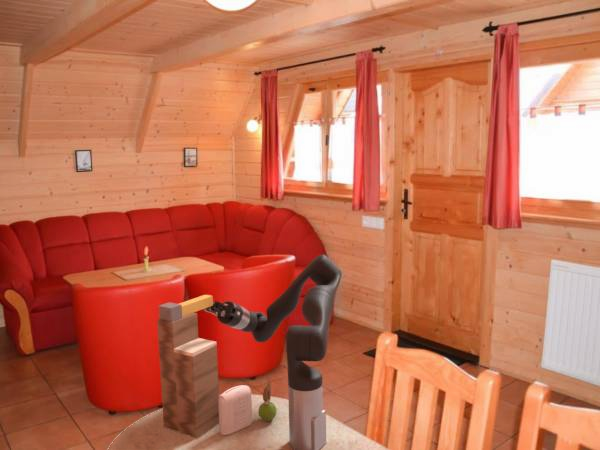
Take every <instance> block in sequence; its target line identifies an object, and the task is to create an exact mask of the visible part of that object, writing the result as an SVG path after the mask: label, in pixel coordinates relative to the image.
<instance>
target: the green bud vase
mask: <svg viewBox="0 0 600 450" xmlns="http://www.w3.org/2000/svg"><path fill="white" fill-rule="evenodd" d="M267 379H269V380H267V382H266V385H267V386H265V387H264V388H263V392H262V399H263V401H264V402H262V403H261V404H260V405H259V407H258V416H259V418H260V419H261V420H263V421H265V422H270V421H272V420H273V419H274V418H275V417H276V415H277V412H278V411H277V410H278V409H277V407H276V405H275V404H274V403H273V402H271V397H272V395H271V394H272V381H271V380H272V376H267Z"/></svg>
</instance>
